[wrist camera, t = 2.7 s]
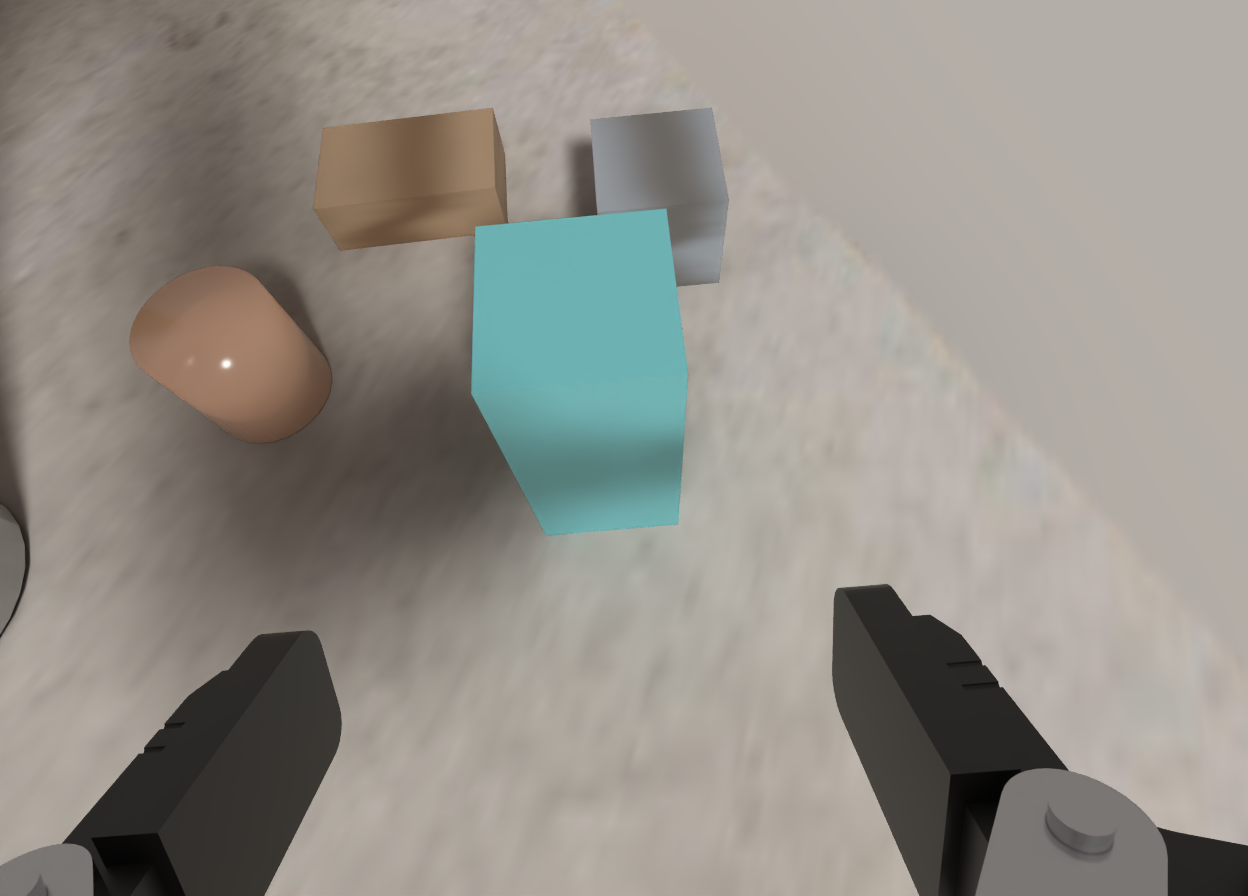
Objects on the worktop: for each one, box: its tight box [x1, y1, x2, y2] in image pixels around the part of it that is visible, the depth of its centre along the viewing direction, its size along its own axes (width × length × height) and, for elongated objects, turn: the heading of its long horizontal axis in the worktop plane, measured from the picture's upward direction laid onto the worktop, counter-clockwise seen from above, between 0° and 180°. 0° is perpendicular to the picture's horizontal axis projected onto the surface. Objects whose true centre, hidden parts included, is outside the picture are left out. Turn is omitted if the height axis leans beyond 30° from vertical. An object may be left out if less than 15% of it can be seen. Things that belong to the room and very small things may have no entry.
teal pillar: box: [471, 209, 688, 536], centre depth 22 cm, size 5×5×11 cm
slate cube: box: [590, 108, 729, 286], centre depth 29 cm, size 5×5×5 cm
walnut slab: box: [313, 108, 508, 251], centre depth 32 cm, size 8×5×3 cm, turn 96°
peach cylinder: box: [130, 266, 332, 443], centre depth 27 cm, size 5×5×5 cm
